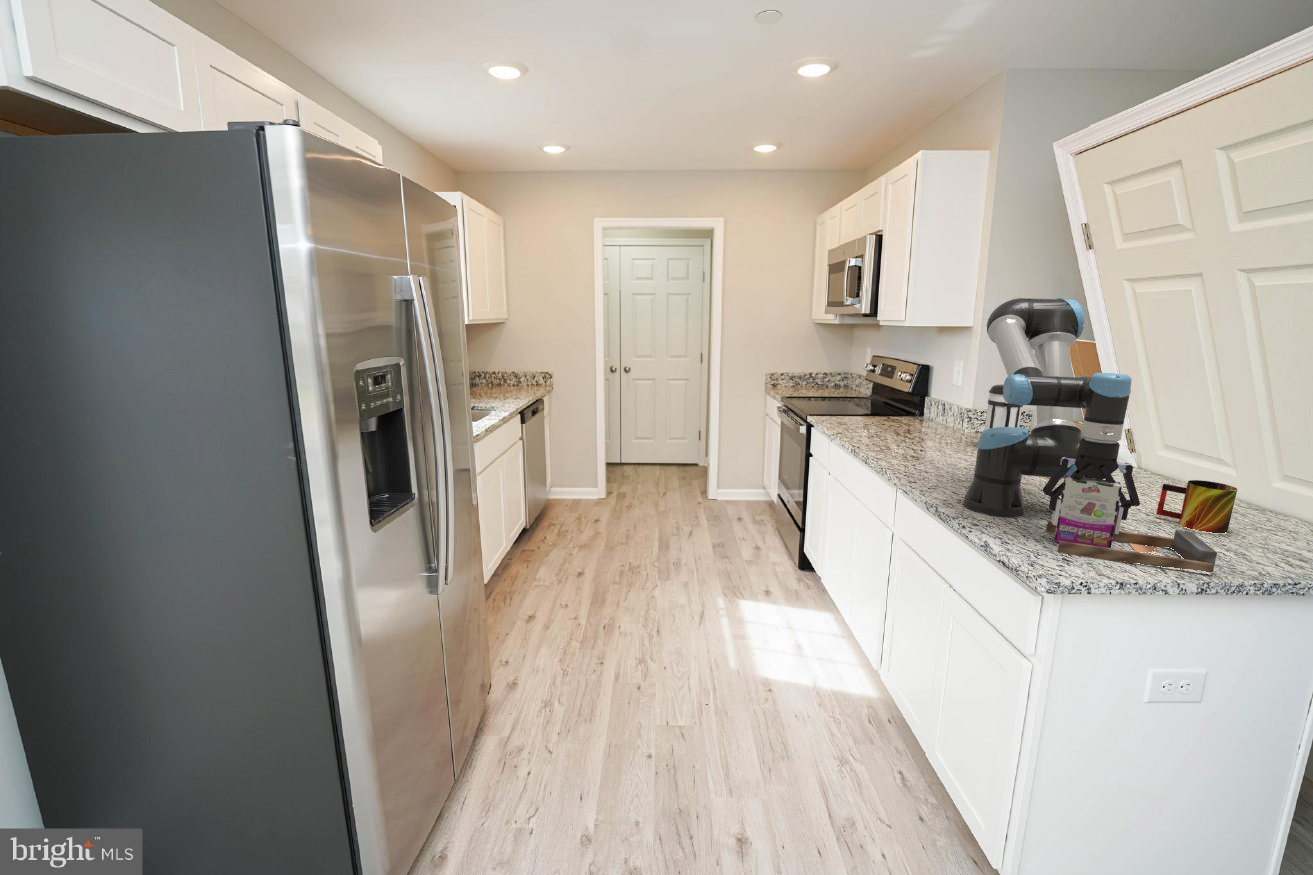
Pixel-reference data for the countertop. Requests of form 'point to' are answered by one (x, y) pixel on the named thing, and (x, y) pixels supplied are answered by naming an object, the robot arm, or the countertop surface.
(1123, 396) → the robot arm
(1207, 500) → the mug
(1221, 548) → the countertop surface
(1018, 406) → the coffee press
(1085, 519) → the candy bar box
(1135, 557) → the guide channel
